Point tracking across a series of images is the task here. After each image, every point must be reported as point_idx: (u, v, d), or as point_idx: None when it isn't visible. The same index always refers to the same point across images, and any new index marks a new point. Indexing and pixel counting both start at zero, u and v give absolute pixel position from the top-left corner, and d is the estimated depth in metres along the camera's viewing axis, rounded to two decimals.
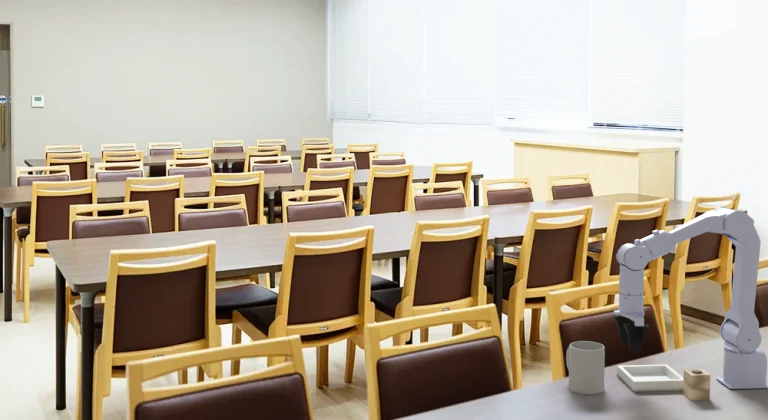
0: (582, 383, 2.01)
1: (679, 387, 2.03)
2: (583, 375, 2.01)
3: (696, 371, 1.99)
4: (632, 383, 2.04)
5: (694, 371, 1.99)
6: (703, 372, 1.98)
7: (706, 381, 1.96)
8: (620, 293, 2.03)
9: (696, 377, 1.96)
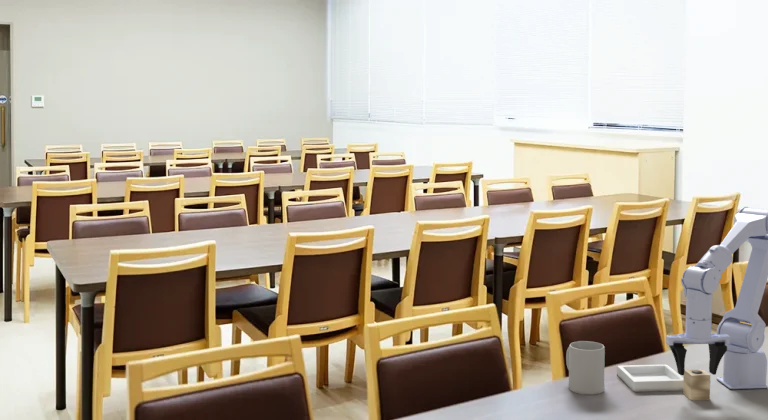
0: (582, 383, 2.01)
1: (679, 387, 2.03)
2: (583, 375, 2.01)
3: (696, 371, 1.99)
4: (632, 383, 2.04)
5: (694, 371, 1.99)
6: (703, 372, 1.98)
7: (706, 381, 1.96)
8: None
9: (696, 377, 1.96)
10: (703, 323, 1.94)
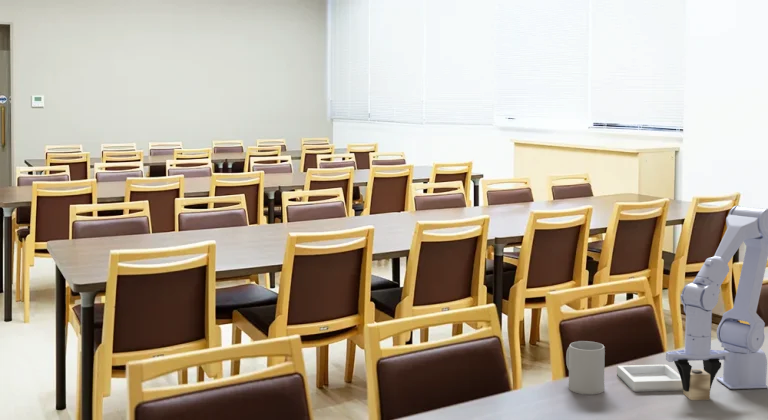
0: (582, 383, 2.01)
1: (679, 387, 2.03)
2: (583, 375, 2.01)
3: (696, 371, 1.99)
4: (632, 383, 2.04)
5: (694, 371, 1.99)
6: (703, 372, 1.98)
7: (706, 380, 1.96)
8: None
9: (696, 377, 1.96)
10: (703, 340, 1.95)
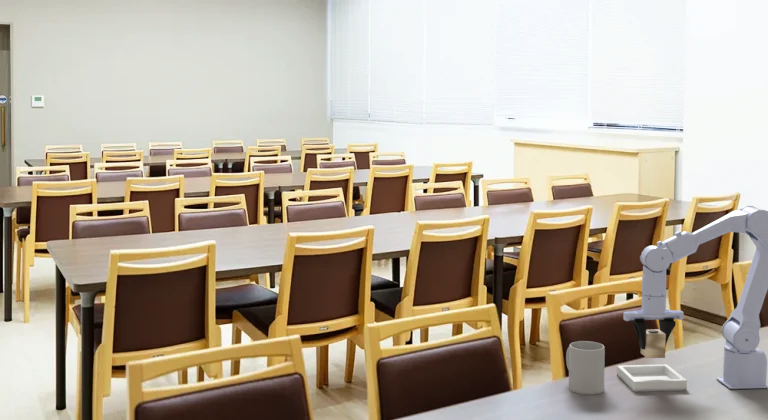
0: (582, 383, 2.01)
1: (679, 387, 2.03)
2: (583, 375, 2.01)
3: (652, 331, 2.08)
4: (632, 383, 2.04)
5: (651, 331, 2.08)
6: (659, 332, 2.07)
7: (662, 339, 2.06)
8: None
9: (652, 336, 2.05)
10: (657, 299, 2.04)
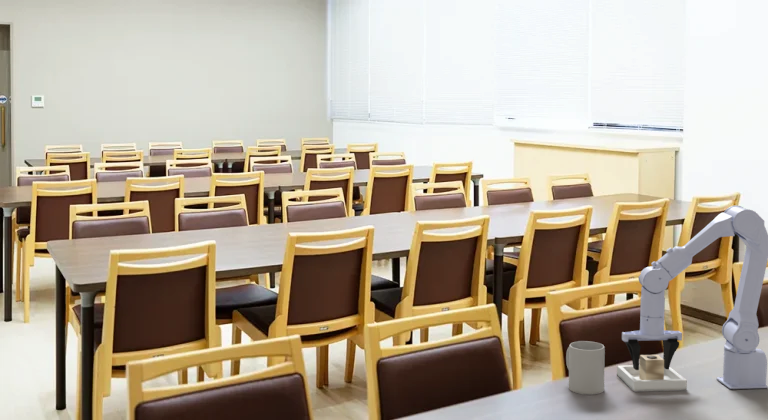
0: (582, 383, 2.01)
1: (679, 387, 2.03)
2: (583, 375, 2.01)
3: (651, 356, 2.09)
4: (632, 383, 2.04)
5: (649, 356, 2.09)
6: (658, 357, 2.09)
7: (660, 365, 2.07)
8: None
9: (650, 362, 2.07)
10: (656, 320, 2.05)
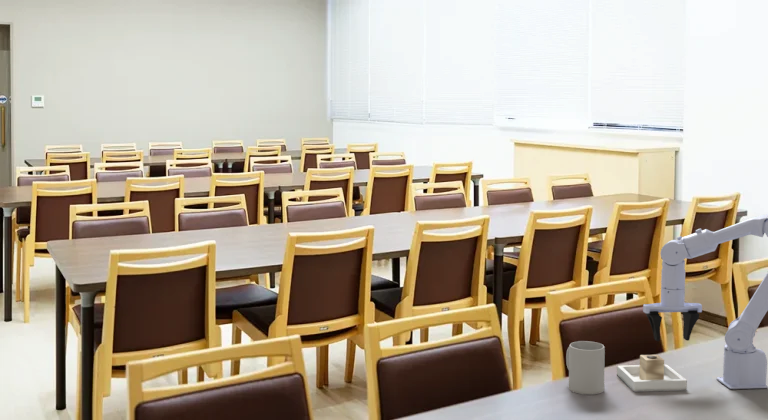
0: (582, 383, 2.01)
1: (679, 387, 2.03)
2: (583, 375, 2.01)
3: (651, 356, 2.09)
4: (632, 383, 2.04)
5: (649, 356, 2.09)
6: (658, 357, 2.09)
7: (660, 365, 2.07)
8: None
9: (650, 362, 2.07)
10: (677, 292, 2.10)
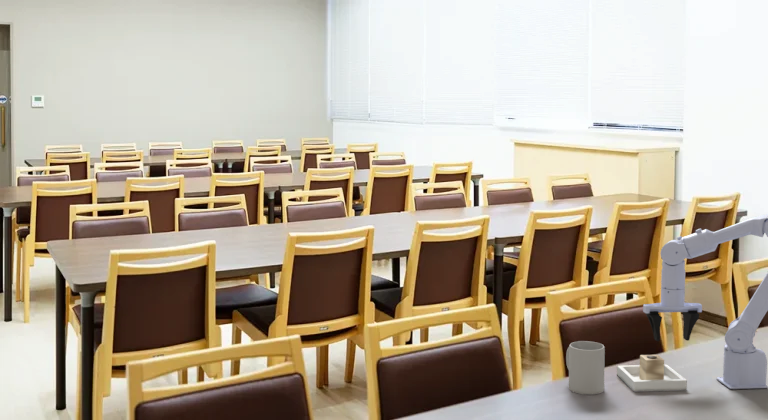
0: (582, 383, 2.01)
1: (679, 387, 2.03)
2: (583, 375, 2.01)
3: (651, 356, 2.09)
4: (632, 383, 2.04)
5: (649, 356, 2.09)
6: (658, 357, 2.09)
7: (660, 365, 2.07)
8: None
9: (650, 362, 2.07)
10: (677, 292, 2.10)
